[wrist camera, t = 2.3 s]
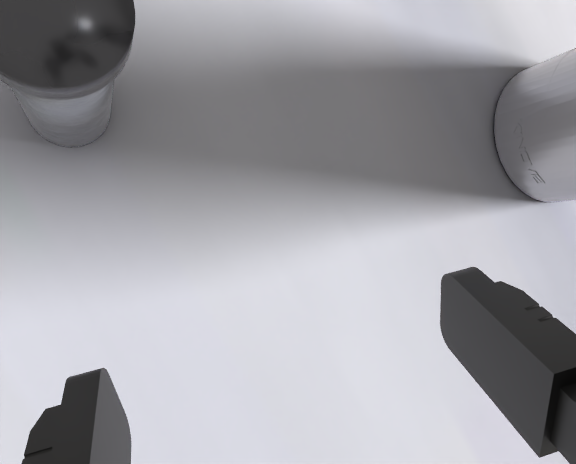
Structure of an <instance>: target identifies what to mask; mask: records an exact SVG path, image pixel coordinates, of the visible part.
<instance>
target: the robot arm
mask: <svg viewBox="0 0 576 464" xmlns="http://www.w3.org/2000/svg"><path fill="white" fill-rule="evenodd" d="M494 133H495V141H496V147H497V151H498V154H499V157H500V161H501V163H502V165H503V167H504V169H505V171H506V173H507V174H508V176H509V177H510V179H511V180H512V181H513V183H514V184H515V185H516V186H517V187H518V188H519V189H520V190H521V191H523V192H524V193H525V194H527V195H528V196H530V197H532V198H534V199H536V200H540V201H544V202H560V201H569V200H576V48H575V49H572V50H570V51H568V52H565V53H563V54H560V55H558V56H556V57H553V58H551V59H549V60H546V61H544V62H542V63H539V64H537V65H535V66H532V67H530V68H528V69H525V70H523V71H521V72H519V73H518V74H517V75H515V76H514V77H513V78H512V79H511V80H510V81H509V82H508V84H507V85H506V87H505V88H504V89H503V91H502V94H501V96H500V98H499V101H498V104H497V108H496V113H495V124H494ZM440 326H441V332H442V335H443V338H444V340H445V343H446V344H447V346H448V348H449V349H450V350H451V352H452V353H453V354H454V355H455V356H456V358H457V359H458V360H459V361H460V362H461V364H462V365H463V366H464V367H465V369H466V370H467V371H468V372H469V373H470V375H471V376H472V377H473V378H474V379H475V381H476V382H477V383H478V384H479V385H480V387H481V388H482V389H483V390H484V391H485V393H486V394H487V395H488V396H489V398H490V399H491V400H492V401H493V402H494V404H495V405H496V406H497V407H498V408H499V410H500V411H501V412H502V413H503V414H504V416H505V417H506V418H507V419H508V420H509V422H510V423H511V424H512V425H513V426H514V428H515V429H516V430H517V431H518V433H519V434H520V435H521V436H522V437H523V439H524V440H525V441H526V442H527V443H528V445H529V446H530V447H531V448H532V449H533V451H534V452H535V453H536V454H537V455H538V457H539V458H540V457H543V456H546V455H549V454H551V453H554V452H557V451H559V452H560V453H561V454H562V455H563V456H564V457H565V458H566V460H567V461H568V462H569V463H570V464H576V334H575V333H574V332H573V331H571V330H570V329H569V328H568V327H566V326H565V325H564V324H563V323H562V322H560V321H559V320H558V319H557V318H553V317H552V314H551V313H549V312H548V311H547V310H546V309H544V308H543V307H540V306H539V304H538V303H537V302H536V301H535V300H533V299H532V298H531V297H530V296H528V295H527V294H526V293H525V292H524V291H522V290H520V289H518V288H515V287H513V286H511V285H508V284H506V283H504V282H502V281H499V282H496V283H494V282H493V281H492V280H491V279H490V278H489V277H488V276H486V275H485V274H484V273H483V272H482V271H481V270H479V269H478V268H476V267H470V268H467V269H463V270H459V271H456V272H452V273H448V274H445V275H444V276H443V277H442V280H441V313H440ZM24 456H25V459H23V461H22V464H131V435H130V428H129V424H128V420H127V417H126V414H125V412H124V409H123V407H122V404H121V402H120V400H119V397H118V395H117V392H116V390H115V388H114V385H113V383H112V380H111V378H110V376H109V374H108V372H107V370H106V369H105V368H101V369H97V370H94V371H90V372H86V373H83V374H79V375H75V376H71V377H69V378H67V380H66V383H65V388H64V393H63V398H62V403H61V405H58V406H55V407H51V408H47V409H45V411H44V412H43V414H42V415H41V417H40V418H39V419H38V421H37V422H36V424H35V425H34V427H33V428H32V430H31V431H30V434H29V438H28V442H27V445H26V449H25V453H24Z"/></svg>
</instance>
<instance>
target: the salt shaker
mask: <svg viewBox="0 0 576 464" xmlns="http://www.w3.org/2000/svg"><path fill="white" fill-rule="evenodd" d="M134 27H135V9H134V2H133V0H0V80H2V81H3V82H4V83H6V84H8V85H9V86H11V88H12V90H13V92H14V94H15V96H16V97H17V99H18V101H19V103H20V105H21V107H22V109H23V110H24V112H25V114H26V116H27V118H28V120H29V122H30V123H31V125H32V127H33V128H34V129H35V130H36V132H37V133H38V134H39V135H41V136H42V137H43V138H44V139H46V140H48V141H49V142H52V143H54V144H57V145H60V146H65V147H78V146H83V145H87V144H89V143H91V142H93V141H95V140H96V139H97V138H99V137H100V136H101V135H102V134H103V133H104V131H105V130H106V128H107V126H108V124H109V120H110V115H111V105H112V95H113V85H114V79H115V78H116V77H117V75H118V74H119V73H120V72H121V70H122V69H123V67H124V66H125V63H126V61H127V59H128V57H129V53H130V50H131V45H132V39H133V33H134Z"/></svg>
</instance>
